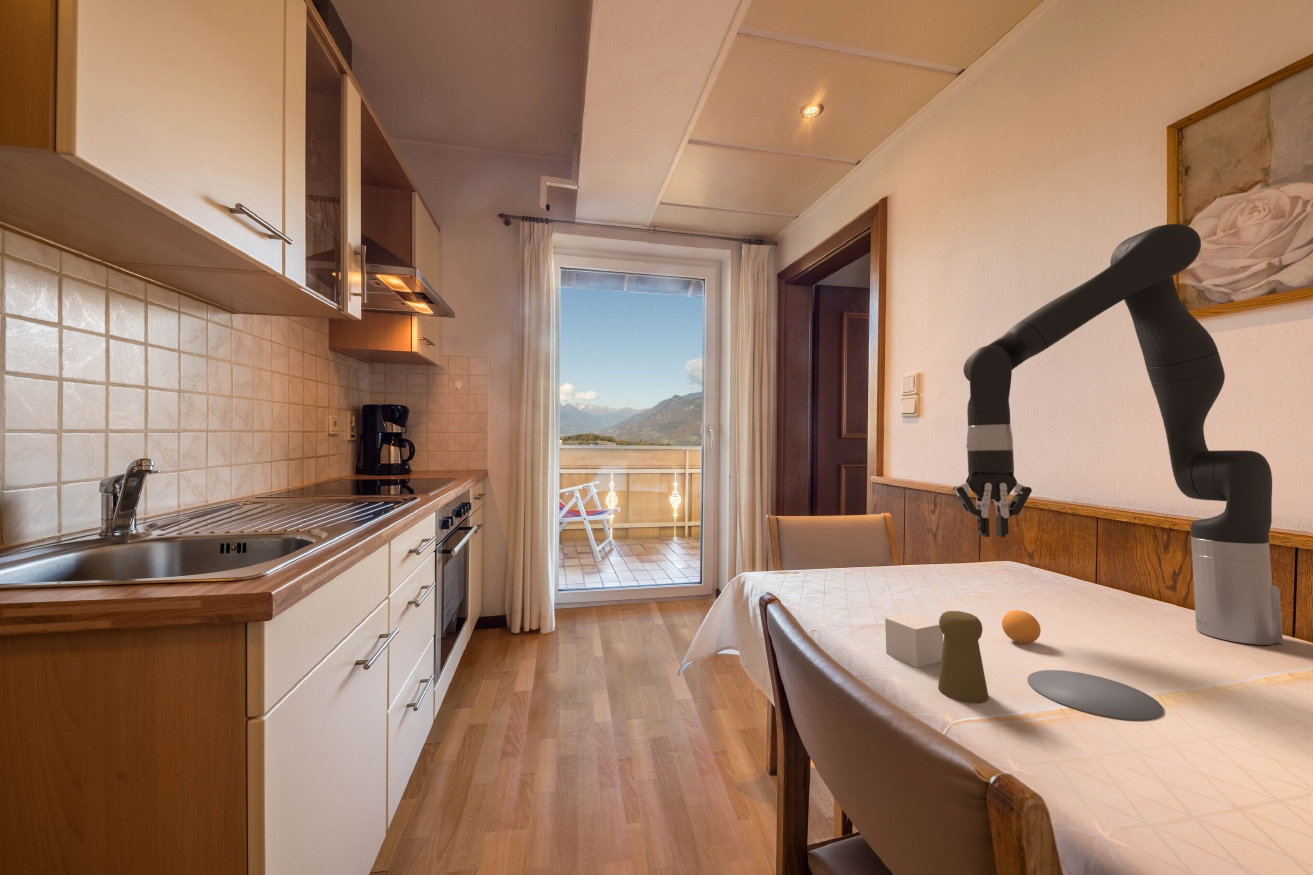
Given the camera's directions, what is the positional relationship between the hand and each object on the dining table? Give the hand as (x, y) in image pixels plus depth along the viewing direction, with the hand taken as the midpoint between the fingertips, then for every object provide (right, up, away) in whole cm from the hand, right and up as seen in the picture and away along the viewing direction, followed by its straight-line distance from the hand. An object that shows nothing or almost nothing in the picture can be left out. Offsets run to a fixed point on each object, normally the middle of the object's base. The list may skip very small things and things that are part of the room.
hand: (993, 536), depth 97 cm
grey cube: (-24, -17, -15) cm, 33 cm away
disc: (-6, -16, -28) cm, 33 cm away
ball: (-2, -14, -10) cm, 17 cm away
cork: (-23, -17, -28) cm, 40 cm away
